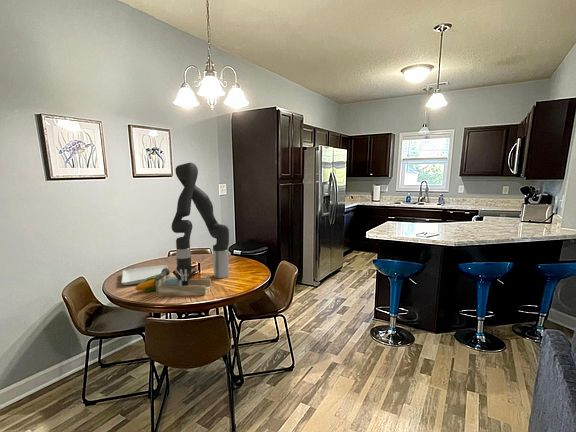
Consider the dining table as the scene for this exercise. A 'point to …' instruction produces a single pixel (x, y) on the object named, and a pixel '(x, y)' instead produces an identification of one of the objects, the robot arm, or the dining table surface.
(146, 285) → the corn
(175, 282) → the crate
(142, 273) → the square plate
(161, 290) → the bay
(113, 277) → the dining table surface
